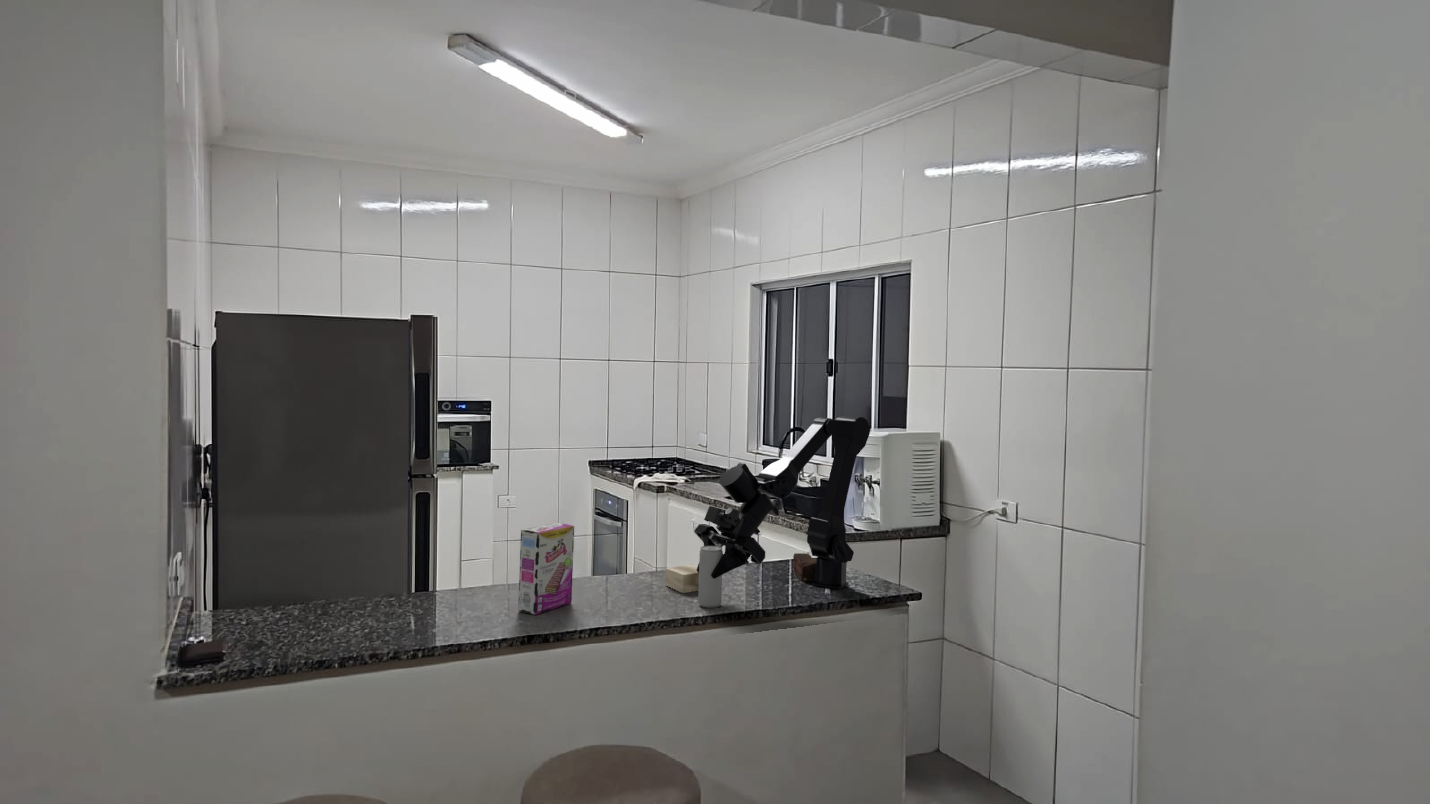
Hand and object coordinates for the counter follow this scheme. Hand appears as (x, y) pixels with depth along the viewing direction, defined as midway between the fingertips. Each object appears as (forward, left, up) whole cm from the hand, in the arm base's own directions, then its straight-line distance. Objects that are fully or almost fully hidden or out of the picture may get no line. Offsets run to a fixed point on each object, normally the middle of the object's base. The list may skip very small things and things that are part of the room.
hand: (705, 574), depth 182 cm
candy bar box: (+25, +20, -7) cm, 33 cm away
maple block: (+11, -11, -7) cm, 17 cm away
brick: (-6, -36, -7) cm, 38 cm away
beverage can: (-1, -1, -7) cm, 7 cm away
